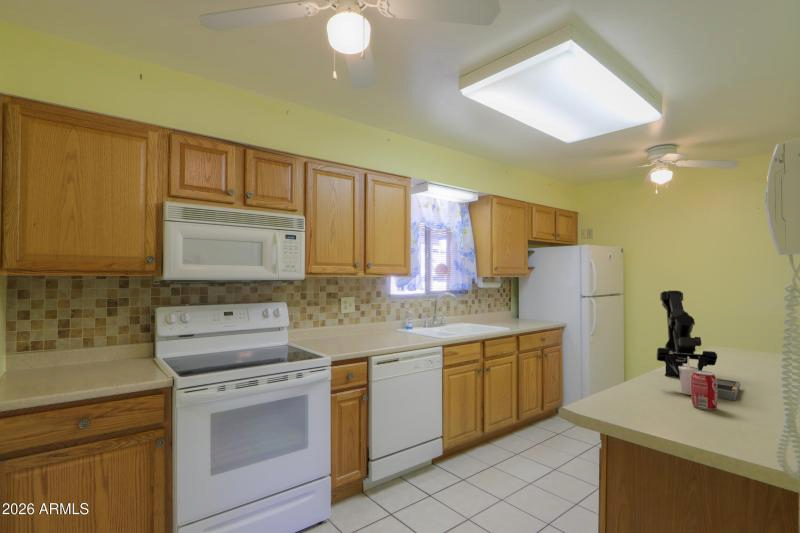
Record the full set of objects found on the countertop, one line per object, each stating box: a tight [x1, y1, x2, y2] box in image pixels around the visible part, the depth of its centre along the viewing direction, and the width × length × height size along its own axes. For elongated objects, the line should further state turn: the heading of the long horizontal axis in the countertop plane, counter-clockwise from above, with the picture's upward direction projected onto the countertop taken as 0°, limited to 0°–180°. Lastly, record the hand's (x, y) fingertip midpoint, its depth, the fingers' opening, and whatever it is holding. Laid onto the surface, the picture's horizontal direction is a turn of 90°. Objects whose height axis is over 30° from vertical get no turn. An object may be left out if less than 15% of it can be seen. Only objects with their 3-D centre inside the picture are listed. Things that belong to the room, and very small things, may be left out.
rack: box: [716, 377, 741, 402], centre depth 154 cm, size 11×20×3 cm, turn 136°
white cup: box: [678, 356, 698, 396], centre depth 150 cm, size 6×6×14 cm
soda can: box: [690, 370, 718, 411], centre depth 135 cm, size 7×7×12 cm
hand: (689, 375), depth 149 cm, fingers closed on white cup, 6 cm apart
